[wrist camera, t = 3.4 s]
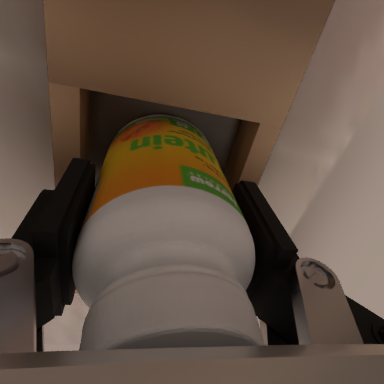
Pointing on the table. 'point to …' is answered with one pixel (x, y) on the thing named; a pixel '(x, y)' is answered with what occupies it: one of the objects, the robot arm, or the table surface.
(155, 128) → the supplement bottle
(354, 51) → the table surface
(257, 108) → the block with square hole
